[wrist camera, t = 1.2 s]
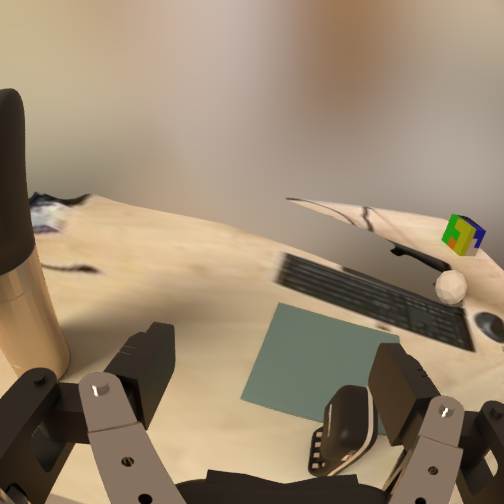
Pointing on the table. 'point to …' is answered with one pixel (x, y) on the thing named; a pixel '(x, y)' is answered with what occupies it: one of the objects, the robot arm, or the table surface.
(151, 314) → the table surface
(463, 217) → the puzzle toy
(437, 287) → the geometric ball
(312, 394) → the mat
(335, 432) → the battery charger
